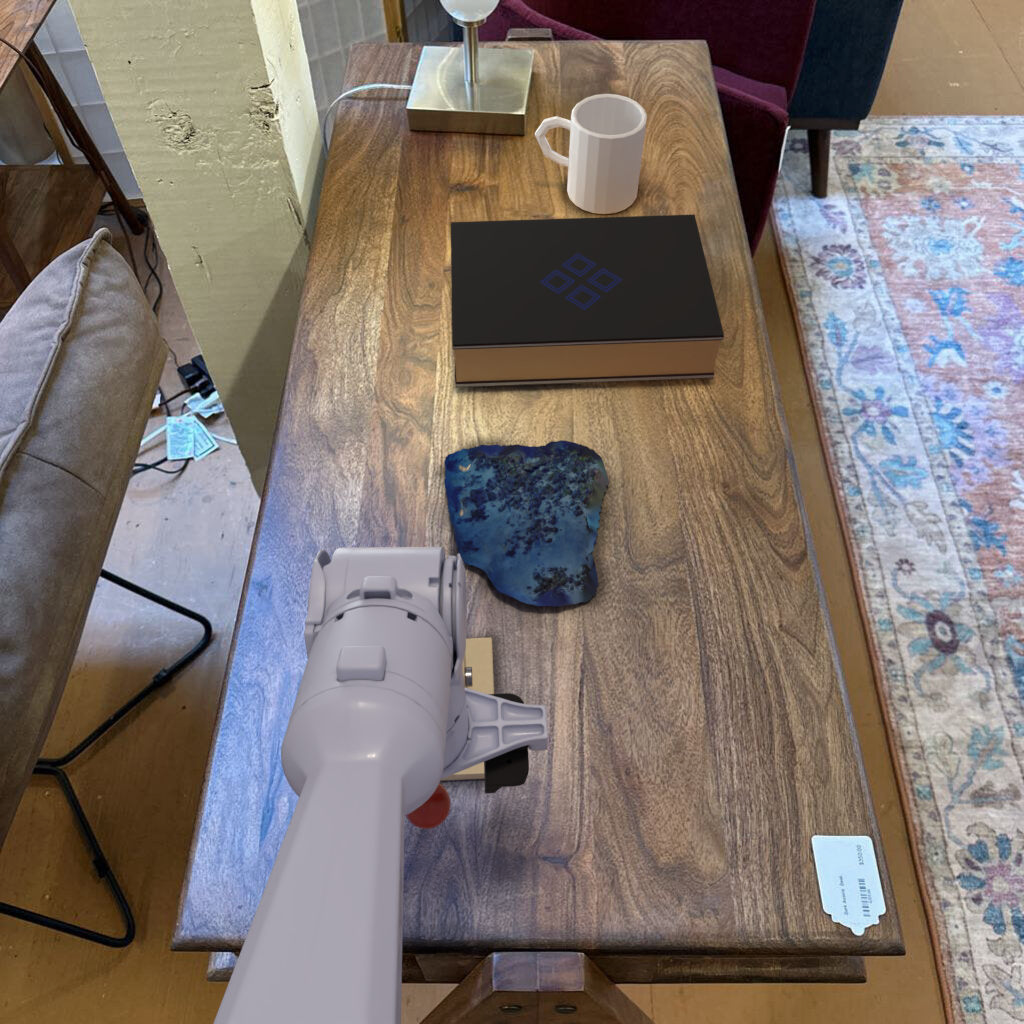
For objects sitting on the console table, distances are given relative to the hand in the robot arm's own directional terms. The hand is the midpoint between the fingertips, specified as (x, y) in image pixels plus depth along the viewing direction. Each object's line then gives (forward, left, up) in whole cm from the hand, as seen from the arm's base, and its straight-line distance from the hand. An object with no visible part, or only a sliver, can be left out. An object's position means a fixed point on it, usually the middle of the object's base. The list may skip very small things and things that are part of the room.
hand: (430, 780), depth 59 cm
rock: (+26, -3, -9) cm, 28 cm away
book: (+51, -5, -9) cm, 52 cm away
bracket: (+8, +2, -9) cm, 12 cm away
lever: (+3, +1, -3) cm, 4 cm away
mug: (+73, -4, -9) cm, 74 cm away
